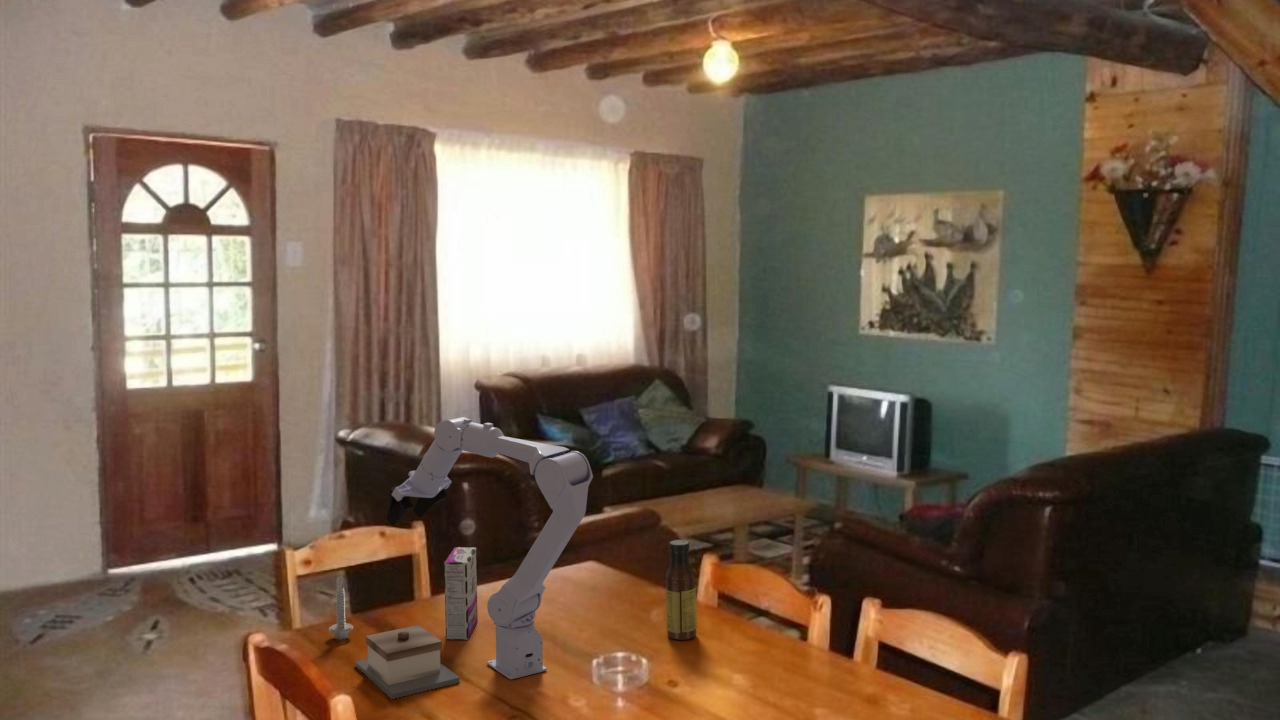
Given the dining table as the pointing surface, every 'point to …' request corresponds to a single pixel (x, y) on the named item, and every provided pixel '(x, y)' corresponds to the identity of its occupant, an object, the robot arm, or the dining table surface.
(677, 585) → the sauce bottle
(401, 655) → the lid
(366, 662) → the board
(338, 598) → the screw
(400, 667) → the open grey box
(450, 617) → the candy bar box
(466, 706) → the dining table surface
